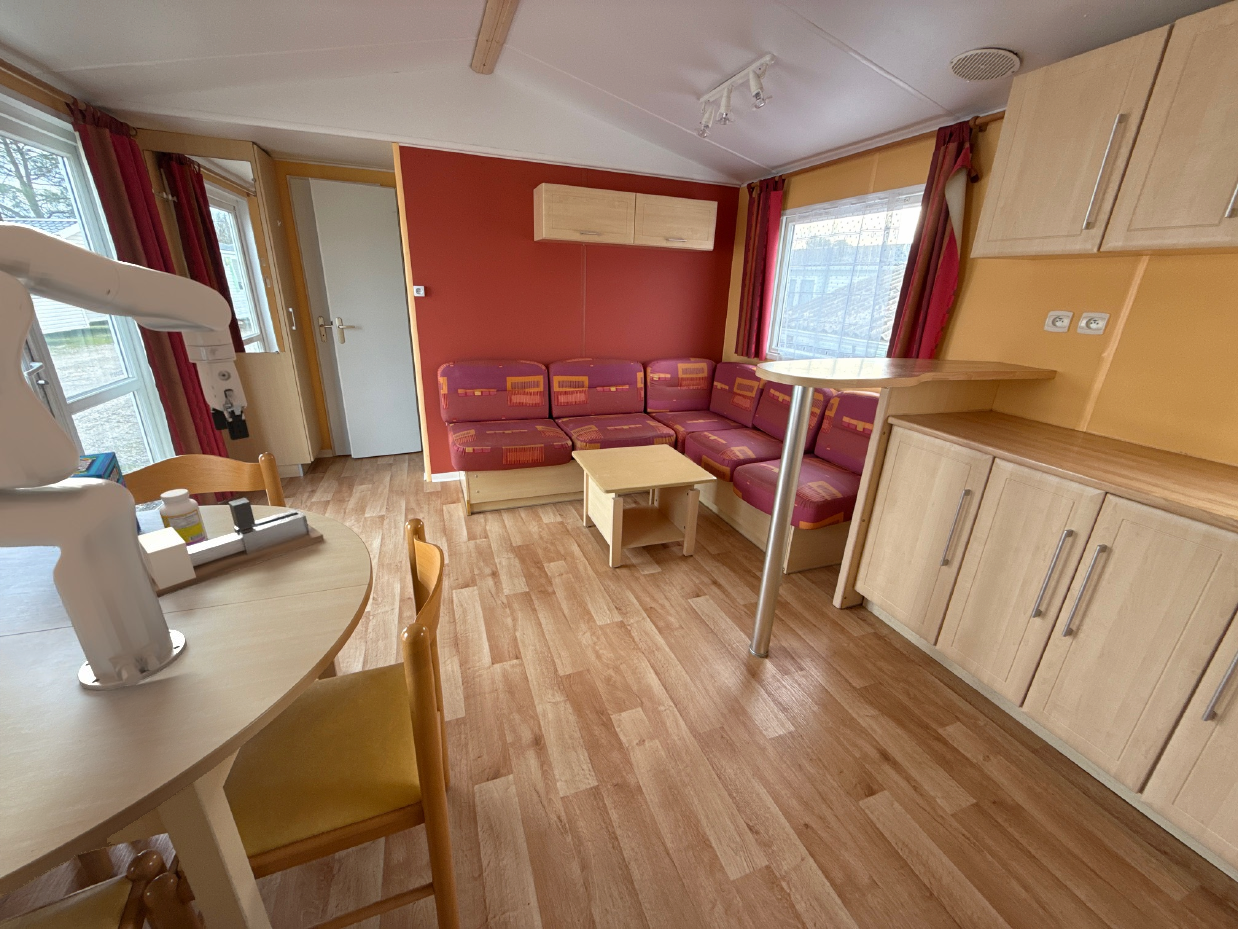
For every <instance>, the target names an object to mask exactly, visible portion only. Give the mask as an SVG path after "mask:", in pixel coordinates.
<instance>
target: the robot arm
mask: <svg viewBox="0 0 1238 929" xmlns="http://www.w3.org/2000/svg"><path fill="white" fill-rule="evenodd" d="M31 295H32V296H33V295H34V296H37V297H40V298H44V299H48V300H51V301H55V302H58V303H62V304H65V305H69V306H72V307H75V308H76V307H77V308H78V309H79V308H80V309H84V310H87V311H91V312H92V313H93V312H94V313H98V314H103V315H108V316H109V315H111V316H119V317H127V318H131V319H133V321H134V322H136V323H137V324H138V325H140V326H141V327H143V328H145V329H148V330H152V331H157V332H158V331H159V332H179V333H180V332H181V335H182V339H183V342H184V346H185V349H186V353H187V357H188V360H189V362H190V363H195V364H196V368H197V371H198V377H199V380H200V385H201V388H202V391H203V395H204V398H205V401H206V403H207V404H208V405H209V409H210V414H211V418H212V421H213V425H214V426H213V427H214V428H215V430H216V431H224V430H227V431H228V434H229V435H228V436H229V438H230V440H232V441H237V440H242V439H248V438H250V434H249V433H250V432H249V428H248V425H247V424H248V423H247V420H246V417H245V414H244V411H243V409H246V408H247V407H248V402H247V399H246V395H245V392H244V389H243V384H242V382H241V379H240V376H239V372H238V370H237V368H236V364H235V362H234V361H236V360H237V355H236V352H235V347H234V343H233V338H232V334H231V331H230V327H229V325H230V323H231V320H232V311H231V307H230V306H229V303H228V302H227V300H226V299H225V298H224V296H222V294H221V293H220V292H218V291H217V290H215V289H213V288H212V287H210V286H207V285H205V284H203V283H201V282H199V281H196V280H194V279H191V278H187V277H185V276H180V275H177V274H173V273H168V272H164V271H160V270H155V269H151V268H148V267H144V266H142V265H138V264H133V263H129V262H123V261H120V260H116V259H112V258H110V257H107V256H105V255H103V254H100V253H98V252H95V251H93V250H90V249H88V248H86V247H83V246H80V245H78V244H76V243H73V242H72V241H69V240H67V239H64V238H62V237H60V236H57V235H55V234H51V233H49V232H48V231H44V230H42V229H39V228H36V227H33V226H31V225H27V224H23V223H17V222H8V221H0V548H25V547H26V548H28V547H57V548H59V550H60V554H59V558H58V559H57V562H56V563H55V565H54V568H53V572H52V579H53V584H54V586H55V590H56V591H57V594H58V596H59V598H60V599H61V603H62V604H63V607H64V609H65V611H66V614H67V616H68V618H69V620H70V624H71V625H72V629H73V631H74V633H75V635H76V637H77V640H78V642H79V644H80V647H81V650H82V651H83V654H84V655H85V659H86V661H85V662H84V663H83V665H82V666H81V667H80V668H79V671H78V672H77V678H78V681H79V684H80V685H81V687H83V688H85V689H88V690H92V691H107V690H113V689H114V690H115V689H117V688H124V687H126V686H135V685H137V684H138V683H139V682H141V681H143V680H146V679H148V678H151V677H152V676H154V675H156V674H159V673H160V672H162V671H164V670H165V669H166V668H168V667H170V666H171V665H172V664H173V663H174V662H176V661H177V660H178V659H179V658H180V657H181V656H182V655H183V653H184V652H185V651H186V648H187V643H188V642H187V640H186V636H185V635H184V634H183V633H182V632H181V631H177V630H172V629H169V626H168V624H167V620H166V618H165V615H164V612H163V609H162V607H161V603H160V601H159V597H157V594H156V591H155V588H154V586H153V583H152V580H151V577H150V574H149V571H148V568H147V565H146V563H145V560H144V557H143V554H142V550H141V547H140V543H139V539H138V533H137V524H136V516H137V510H136V509H137V507H136V503H135V501H136V500H135V498H134V496H133V494H132V492H130V490H129V489H128V487H127V488H125V487H124V486H122V485H121V484H119V483H116V482H113V481H110V480H106V479H99V478H69V477H71V476H72V475H74V473H75V472H76V471H77V469H78V468H79V465H80V456H81V455H80V454H79V453H80V452H79V451H78V449H77V447H76V445H75V443H74V442H73V440H72V439H71V438H70V436H69V435H68V433H67V432H66V431H65V430H64V428H63V427H62V425H61V424H59V422H58V421H57V420H56V419H55V417H54V416H53V414H51V412H50V411H49V409H47V407H46V406H45V404H44V403H43V402H42V400H41V399H40V398H39V397H38V396H37V395H36V393H35V391H33V389H32V387H31V386H30V384H29V383H28V381H27V380H26V378H25V375H24V373H23V368H22V359H23V358H22V357H23V352H24V347H25V343H26V341H27V338H28V335H29V333H30V330H31V327H32V326H33V323H34V319H35V304H34V301H33V298H32V296H31Z"/></svg>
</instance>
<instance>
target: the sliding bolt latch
mask: <svg viewBox="0 0 1238 929" xmlns="http://www.w3.org/2000/svg"><path fill="white" fill-rule="evenodd" d="M228 506H229V508H230V509H229V510H230V513H231V517H232V520H233V524H234V527H235V526H236V527H238V528H239V529H240V532H241V531H244V530H248V529H251V528H252V525H254V524H255V521H256V520H255V518H254V513H253V509H252V506H251V501H250V500H248V499H247V498H246V497H242V498H238V499H234V500H232V501H228ZM187 549H188V552H189V556H190V559H191V562H192V565H193V566H196V565H199V564H202V563H205V562H209V561H212V560H215V559H218V558H221V557H224V556H227V555H230V554H233V553H236V552H239V551H243V550H245V546H244V542H243V538H242V536H241V535H240V533H239V532H238V533H237V532H236V533H235V532H232V533H230V534H227V535H223V536H219V537H217V538H213V539H209V540H206V541H205V542H202V543H199V544H195V545H192V546H189V547H187Z"/></svg>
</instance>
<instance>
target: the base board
mask: <svg viewBox="0 0 1238 929" xmlns="http://www.w3.org/2000/svg"><path fill="white" fill-rule="evenodd" d="M307 524H308V529H309V533H310V535H307V536H304V537H301V538H298V539H295V540H292V541H289V542H286V543H283V544H280V545H277V546H274V547H271V548H268V549H265V550H262V551H259V552H256V553H253V554H250V555H247V554H246V553H245V552H244V551H239V552H236V553H233V554H230V555H227V556H224V557H221V558H218V559H215V560H212V561H209V562H205V563H202V564H199V565H196V566H193V569H194V572H195V575H196V578H193V579H190V580H187V581H184V582H181V583H178V584H175V585H172V586H169V587H166V588H163V589H160V588H159V587H158V585H157V584H156V582H155V581H154V579H153V578H152V576H151V575H150V577H151V580H152V583H153V586H154V588H155V591H156V594H157V597H158V598H160V597H164V596H167V595H169V594H173V593H174V592H179V591H180V590H184V589H186V588H190V587H193V586H196V585H198V584H201V583H203V582H207V581H211V580H213V579H216V578H218V577H222V576H225V575H227V574H230V573H233V572H236V571H240V570H241V569H245V568H248V567H251V566H252V565H256V564H260V563H262V562H264V561H268V560H271V559H274V558H277V557H280V556H282V555H285V554H288V553H290V552H293V551H296V550H299V549H302V548H305V547H309V546H311V545H313V544H317V543H320V542H322V540H323V541H325V540H324V534H323V533H322V532H320V531H318V530H317V529H316V528H315V527H313V526H312V525H311V524H309V523H307ZM149 574H150V573H149Z"/></svg>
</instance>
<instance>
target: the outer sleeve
mask: <svg viewBox="0 0 1238 929" xmlns="http://www.w3.org/2000/svg"><path fill="white" fill-rule="evenodd" d="M254 521H255V524H254V525H252V528H251V529H248V530H244V531H241V532H240V529H239V528H238V527H236V526H235V525H234V526H233V530H234V533H236V532H237V533H238V532H239V533H240V535H241V536H242V538H243V542H244V546H245V550H243V551H244V552H245V553H246V554H247V555H250V554H253V553H256V552H259V551H262V550H265V549H268V548H271V547H274V546H277V545H280V544H283V543H286V542H289V541H292V540H295V539H298V538H301V537H304V536H307V535H310V533H309V529H308V524H309V523H308V519H307V516H306V515H305V514H304V513H303V512H301V511H300V510H298V509H297V508H293V509H291V510H288V511H284V512H280V513H277V514H273V515H270V516H267V517H264V518H260V519H257V520H256V519H255V520H254Z"/></svg>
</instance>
